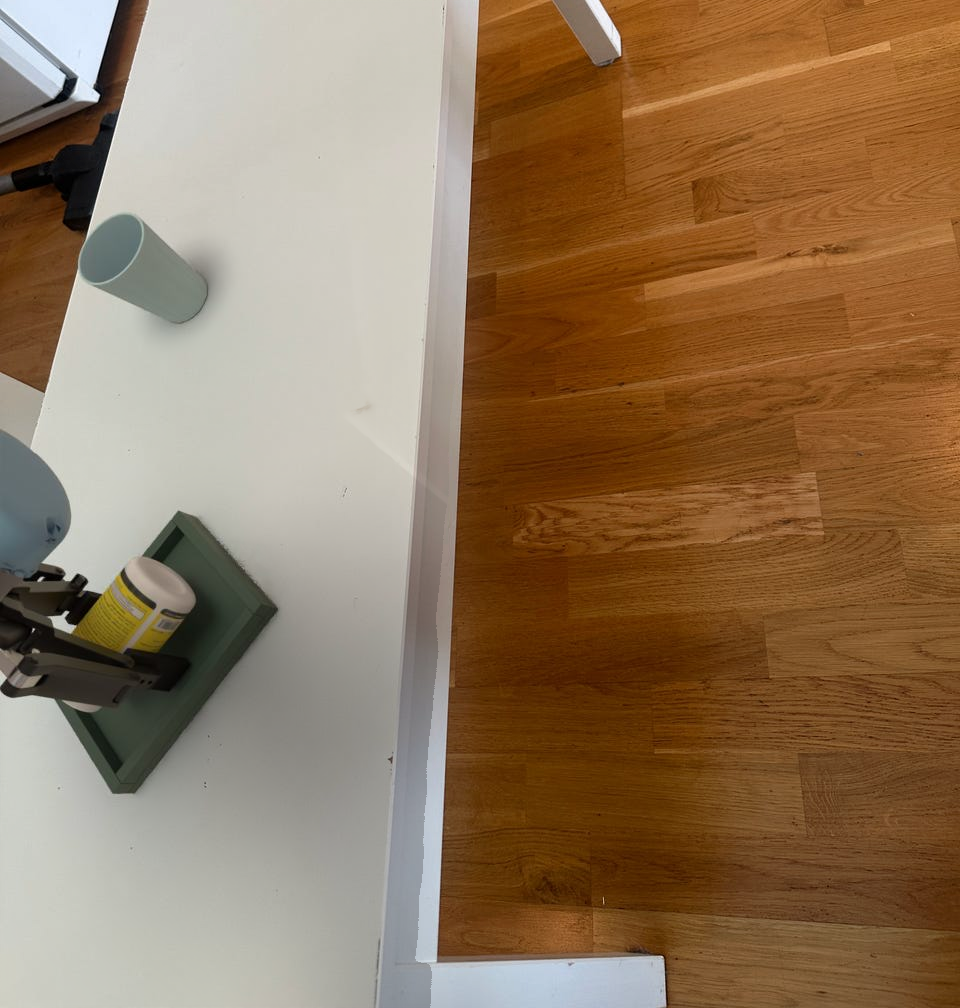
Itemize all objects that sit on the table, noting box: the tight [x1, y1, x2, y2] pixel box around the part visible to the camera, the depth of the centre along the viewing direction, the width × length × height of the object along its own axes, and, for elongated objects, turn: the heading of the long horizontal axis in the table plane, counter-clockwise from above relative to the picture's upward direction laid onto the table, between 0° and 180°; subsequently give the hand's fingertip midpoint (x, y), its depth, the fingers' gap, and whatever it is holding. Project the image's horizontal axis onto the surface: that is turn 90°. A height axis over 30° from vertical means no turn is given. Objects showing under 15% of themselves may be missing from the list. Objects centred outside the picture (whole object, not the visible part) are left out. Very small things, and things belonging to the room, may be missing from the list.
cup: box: [77, 211, 208, 324], centre depth 85 cm, size 8×8×10 cm
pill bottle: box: [62, 555, 196, 712], centre depth 68 cm, size 6×6×11 cm
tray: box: [53, 509, 279, 795], centre depth 72 cm, size 18×13×2 cm
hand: (156, 646), depth 72 cm, fingers closed on pill bottle, 6 cm apart
